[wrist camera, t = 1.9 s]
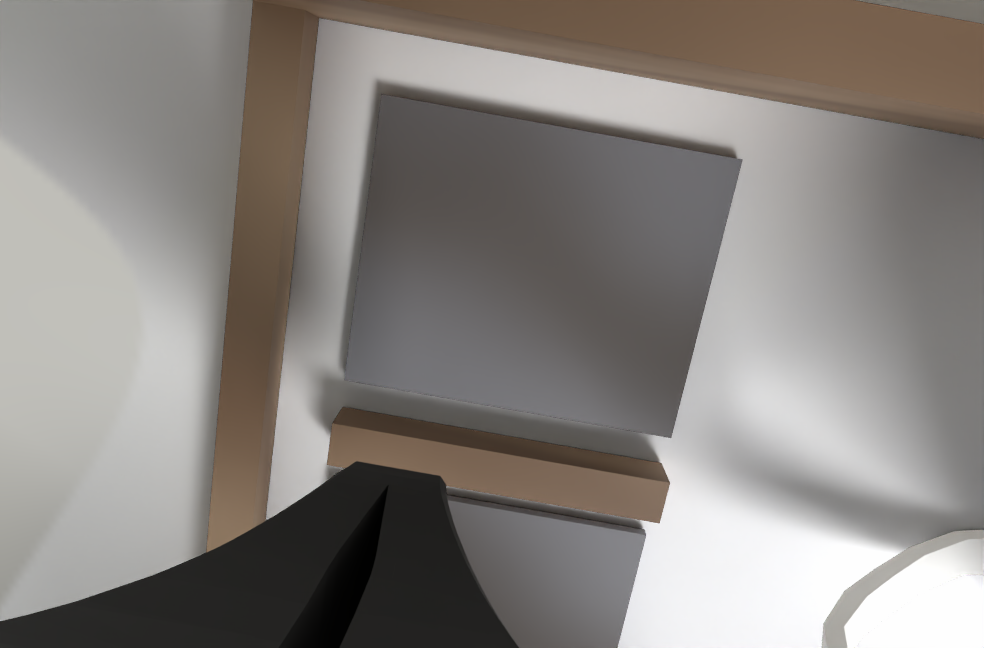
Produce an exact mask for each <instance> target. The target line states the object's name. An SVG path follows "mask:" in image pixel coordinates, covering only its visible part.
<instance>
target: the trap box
mask: <svg viewBox="0 0 984 648" xmlns="http://www.w3.org/2000/svg"><path fill="white" fill-rule="evenodd" d="M319 18H322V19H328V20H333V21H339V22H344V23H350V24H355V25H361V26H366V27H372V28H377V29H383V30H388V31H394V32H399V33H405V34H410V35H416V36H421V37H427V38H432V39H438V40H443V41H449V42H454V43H459V44H465V45H470V46H476V47H481V48H487V49H492V50H498V51H503V52H509V53H514V54H520V55H525V56H531V57H536V58H542V59H547V60H553V61H558V62H564V63H569V64H575V65H580V66H586V67H591V68H597V69H602V70H608V71H613V72H619V73H624V74H630V75H635V76H641V77H646V78H651V79H657V80H662V81H668V82H673V83H679V84H684V85H690V86H695V87H701V88H706V89H712V90H717V91H723V92H728V93H734V94H739V95H745V96H750V97H756V98H761V99H767V100H772V101H778V102H783V103H789V104H794V105H800V106H805V107H811V108H816V109H822V110H827V111H833V112H838V113H843V114H849V115H854V116H860V117H865V118H871V119H876V120H882V121H887V122H893V123H898V124H904V125H909V126H915V127H920V128H926V129H931V130H937V131H942V132H948V133H953V134H959V135H964V136H970V137H975V138H981V139H984V24H981V23H975V22H970V21H964V20H959V19H953V18H948V17H943V16H937V15H932V14H926V13H921V12H915V11H910V10H904V9H899V8H894V7H888V6H883V5H877V4H872V3H866V2H861V1H856V0H253V7H252V19H251V31H250V43H249V54H248V66H247V78H246V90H245V101H244V113H243V125H242V137H241V149H240V160H239V172H238V184H237V196H236V207H235V219H234V231H233V243H232V255H231V266H230V278H229V290H228V302H227V313H226V325H225V337H224V349H223V361H222V372H221V384H220V396H219V408H218V419H217V431H216V443H215V455H214V467H213V478H212V490H211V502H210V514H209V525H208V537H207V549H206V553H207V552H209V551H211V550H213V549H215V548H217V547H219V546H221V545H223V544H225V543H227V542H229V541H231V540H233V539H235V538H237V537H238V536H240V535H242V534H244V533H245V532H247V531H249V530H251V529H252V528H254V527H256V526H258V525H259V524H261V523H263V522H265V519H266V509H267V500H268V491H269V481H270V472H271V463H272V453H273V444H274V435H275V425H276V416H277V407H278V397H279V388H280V378H281V369H282V360H283V350H284V341H285V332H286V322H287V313H288V304H289V294H290V285H291V275H292V266H293V257H294V247H295V238H296V229H297V219H298V210H299V201H300V191H301V182H302V173H303V163H304V154H305V144H306V135H307V126H308V116H309V107H310V98H311V88H312V79H313V70H314V60H315V51H316V41H317V32H318V23H319ZM741 163H742V159H736V158H731V157H725V156H720V155H714V154H709V153H703V152H698V151H692V150H687V149H681V148H676V147H670V146H665V145H659V144H654V143H648V142H643V141H637V140H632V139H626V138H621V137H615V136H610V135H604V134H599V133H593V132H588V131H582V130H577V129H571V128H566V127H560V126H555V125H549V124H543V123H538V122H532V121H527V120H521V119H516V118H510V117H505V116H499V115H494V114H488V113H483V112H477V111H472V110H466V109H461V108H455V107H450V106H444V105H439V104H433V103H428V102H422V101H417V100H411V99H406V98H400V97H395V96H389V95H384V94H381V102H380V110H379V117H378V125H377V133H376V140H375V148H374V156H373V163H372V171H371V179H370V186H369V194H368V202H367V209H366V217H365V225H364V232H363V240H362V248H361V255H360V263H359V271H358V278H357V286H356V294H355V301H354V309H353V317H352V324H351V332H350V340H349V347H348V355H347V363H346V370H345V378H344V380H346V381H352V382H358V383H363V384H369V385H375V386H380V387H386V388H391V389H397V390H403V391H408V392H414V393H420V394H425V395H431V396H437V397H442V398H448V399H454V400H459V401H465V402H471V403H476V404H482V405H487V406H493V407H499V408H504V409H510V410H516V411H521V412H527V413H533V414H538V415H544V416H550V417H555V418H561V419H567V420H572V421H578V422H583V423H589V424H595V425H600V426H606V427H612V428H617V429H623V430H629V431H634V432H640V433H646V434H651V435H657V436H663V437H668V438H671V436H672V433H673V429H674V425H675V421H676V417H677V413H678V409H679V405H680V401H681V397H682V394H683V390H684V386H685V382H686V378H687V374H688V370H689V366H690V362H691V358H692V355H693V351H694V347H695V343H696V339H697V335H698V331H699V327H700V323H701V319H702V316H703V312H704V308H705V304H706V300H707V296H708V292H709V288H710V284H711V280H712V277H713V273H714V269H715V265H716V261H717V257H718V253H719V249H720V245H721V241H722V238H723V234H724V230H725V226H726V222H727V218H728V214H729V210H730V206H731V202H732V199H733V195H734V191H735V187H736V183H737V179H738V175H739V171H740V167H741ZM356 461H359V462H364V463H370V464H376V465H381V466H387V467H393V468H399V469H404V470H410V471H416V472H421V473H427V474H433V475H439V476H441V478H442V479H443V481H444V482H445V483H446V486H450V487H456V488H462V489H467V490H473V491H479V492H484V493H490V494H496V495H501V496H507V497H513V498H518V499H524V500H530V501H535V502H541V503H547V504H553V505H558V506H564V507H570V508H575V509H581V510H587V511H592V512H598V513H604V514H609V515H615V516H621V517H627V518H632V519H638V520H644V521H649V522H655V523H660V519H661V516H662V512H663V508H664V504H665V500H666V496H667V492H668V489H669V485H670V482H669V480H668V477H667V475H666V473H665V470H664V468H663V466H662V463H658V462H652V461H646V460H641V459H635V458H629V457H624V456H618V455H612V454H607V453H601V452H595V451H590V450H584V449H578V448H573V447H567V446H561V445H556V444H550V443H544V442H539V441H533V440H527V439H522V438H516V437H510V436H505V435H499V434H493V433H488V432H482V431H476V430H471V429H465V428H459V427H454V426H448V425H442V424H437V423H431V422H426V421H420V420H414V419H409V418H403V417H397V416H392V415H386V414H380V413H375V412H369V411H363V410H358V409H352V408H346V407H342V409H341V410H340V412H339V414H338V415H337V417H336V418H335V420H334V421H333V423H332V429H331V437H330V444H329V452H328V460H327V465H331V466H336V467H342V468H347V467H348V466H350V465H351V464H353V463H354V462H356ZM334 476H335V475H334ZM447 500H448V504H449V508H450V512H451V515H452V519H453V522H454V525H455V528H456V531H457V534H458V536H459V539H460V541H461V544H462V546H463V549H464V551H465V554H466V556H467V558H468V561H469V563H470V565H471V567H472V569H473V571H474V573H475V575H476V577H477V579H478V581H479V583H480V585H481V587H482V589H483V591H484V593H485V595H486V597H487V598H488V600H489V602H490V604H491V605H492V607H493V609H494V610H495V612H496V614H497V615H498V617H499V619H500V620H501V622H502V623H503V625H504V626H505V628H506V629H507V631H508V632H509V634H510V635H511V637H512V638H513V640H514V641H515V642H516V644H517V645H518V646H519V648H617V647H618V643H619V639H620V635H621V631H622V628H623V624H624V620H625V616H626V612H627V608H628V604H629V600H630V596H631V592H632V589H633V585H634V581H635V577H636V573H637V569H638V565H639V561H640V557H641V553H642V550H643V546H644V542H645V538H646V533H645V530H644V529H638V528H633V527H627V526H621V525H616V524H610V523H604V522H598V521H593V520H587V519H581V518H576V517H570V516H564V515H559V514H553V513H547V512H542V511H536V510H530V509H524V508H519V507H513V506H507V505H502V504H496V503H490V502H485V501H479V500H473V499H468V498H462V497H456V496H450V495H447Z"/></svg>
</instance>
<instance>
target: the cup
mask: <svg viewBox="0 0 984 648" xmlns="http://www.w3.org/2000/svg"><path fill="white" fill-rule="evenodd" d="M966 575H984V530H965V531H953V532H951V533H948V534H945V535H942V536H939V537H937V538H934V539H931V540H928V541H926V542H923V543H920V544H917V545H914V546H912V547H909V548H908V549H906V550H904V551H903V552H901V553H900V554H898V555H896V556H895V557H893V558H892V559H890V560H888V561H887V562H885V563H884V564H882V565H880V566H879V567H877V568H876V569H874V570H873V571H871V572H870V573H869V574H867V575H866V576H864V577H863V578H862V579H860V580H859V581H857V582H856V583H855V584H853V585H852V586H851V587H849V588H848V589H846V590H845V591H844V593H843V594H842V596H841V597H840V599H839V600H838V602H837V603H836V605H835V607H834V608H833V610H832V611H831V613H830V614H829V616H828V617H827V619H826V620H825V622H824V623H823V637H822V648H855V647H856V646H857V644H858V643H859V642H860V640H861V639H862V637H863V636H864V635H865V634H867V633H868V632H869V631H870V630H872V629H873V628H874V627H875V626H876V625H878V624H879V623H880V622H881V621H882V620H884V619H885V618H886V617H887V616H889V615H890V614H891V613H893V612H894V611H895V610H897V609H898V608H900V607H901V606H902V605H904V604H905V603H907V602H908V601H909V600H911V599H912V598H914V597H915V596H916V595H918V594H919V593H921V592H923V591H925V590H928V589H930V588H933V587H935V586H938V585H940V584H943V583H946V582H948V581H951V580H953V579H956V578H958V577H961V576H966Z"/></svg>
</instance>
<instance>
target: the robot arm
mask: <svg viewBox="0 0 984 648" xmlns="http://www.w3.org/2000/svg"><path fill="white" fill-rule="evenodd" d="M0 648H519V646H518V645H517V644H516V642H515V641H514V640H513V638H512V637H511V635H510V634H509V632H508V631H507V629H506V628H505V626H504V625H503V623H502V622H501V620H500V619H499V617H498V615H497V614H496V612H495V610H494V609H493V607H492V605H491V604H490V602H489V600H488V598H487V597H486V595H485V593H484V591H483V589H482V587H481V585H480V583H479V581H478V579H477V577H476V575H475V573H474V571H473V569H472V567H471V565H470V563H469V561H468V558H467V556H466V554H465V551H464V549H463V546H462V544H461V541H460V539H459V536H458V534H457V531H456V528H455V525H454V522H453V519H452V515H451V512H450V508H449V504H448V500H447V493H446V483H445V482H444V481H443V479H442V478H441V476H439V475H433V474H427V473H421V472H416V471H410V470H404V469H399V468H393V467H387V466H381V465H376V464H370V463H364V462H359V461H356V462H354V463H353V464H351V465H350V466H348V467H347V468H345V469H344V470H342V471H341V472H339V473H338V474H336V475H335V476H333V477H332V478H331V479H329V480H328V481H326V482H325V483H323V484H322V485H321V486H319V487H318V488H316V489H315V490H313V491H312V492H311V493H309V494H308V495H306V496H305V497H303V498H302V499H300V500H299V501H297V502H295V503H294V504H292V505H291V506H289V507H288V508H286V509H285V510H283V511H282V512H280V513H279V514H277V515H275V516H273V517H272V518H270V519H268V520H266V521H265V522H263V523H261V524H259V525H258V526H256V527H254V528H252V529H251V530H249V531H247V532H245V533H244V534H242V535H240V536H238V537H237V538H235V539H233V540H231V541H229V542H227V543H225V544H223V545H221V546H219V547H217V548H215V549H213V550H211V551H209V552H207V553H204V554H202V555H200V556H198V557H196V558H193V559H191V560H189V561H186V562H184V563H182V564H179V565H177V566H175V567H172V568H170V569H168V570H165V571H163V572H160V573H158V574H155V575H153V576H150V577H147V578H144V579H141V580H138V581H135V582H132V583H129V584H126V585H123V586H120V587H118V588H115V589H112V590H109V591H106V592H103V593H100V594H97V595H94V596H91V597H88V598H85V599H82V600H79V601H76V602H73V603H69V604H66V605H62V606H58V607H55V608H51V609H47V610H44V611H40V612H36V613H33V614H29V615H25V616H21V617H17V618H13V619H9V620H4V621H0Z"/></svg>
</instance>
